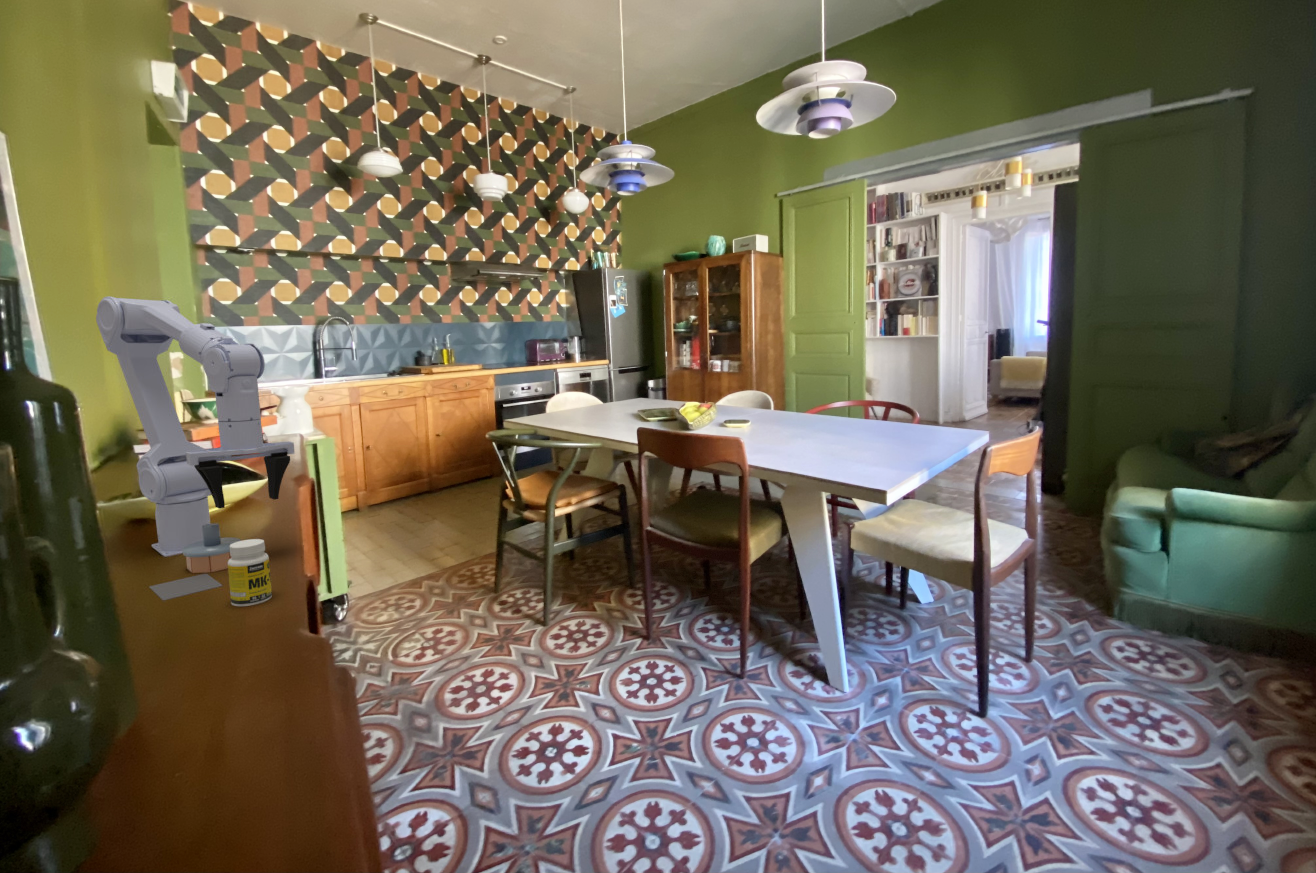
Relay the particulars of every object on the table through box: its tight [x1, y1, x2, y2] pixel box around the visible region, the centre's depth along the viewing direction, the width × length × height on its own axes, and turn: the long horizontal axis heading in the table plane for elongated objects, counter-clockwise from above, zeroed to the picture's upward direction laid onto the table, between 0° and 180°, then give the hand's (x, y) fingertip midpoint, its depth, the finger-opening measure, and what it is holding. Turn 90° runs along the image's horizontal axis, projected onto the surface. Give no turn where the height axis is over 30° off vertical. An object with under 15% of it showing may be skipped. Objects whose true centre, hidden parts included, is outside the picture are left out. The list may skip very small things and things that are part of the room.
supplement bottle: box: [227, 538, 273, 607], centre depth 85 cm, size 5×5×8 cm
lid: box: [182, 522, 242, 557], centre depth 99 cm, size 8×8×4 cm
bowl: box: [185, 552, 232, 574], centre depth 99 cm, size 7×7×3 cm
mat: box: [148, 572, 224, 602], centre depth 90 cm, size 8×7×1 cm
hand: (247, 502), depth 101 cm, fingers open, 7 cm apart
